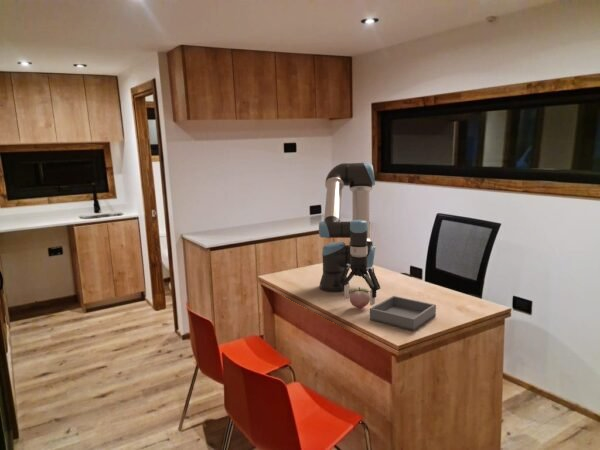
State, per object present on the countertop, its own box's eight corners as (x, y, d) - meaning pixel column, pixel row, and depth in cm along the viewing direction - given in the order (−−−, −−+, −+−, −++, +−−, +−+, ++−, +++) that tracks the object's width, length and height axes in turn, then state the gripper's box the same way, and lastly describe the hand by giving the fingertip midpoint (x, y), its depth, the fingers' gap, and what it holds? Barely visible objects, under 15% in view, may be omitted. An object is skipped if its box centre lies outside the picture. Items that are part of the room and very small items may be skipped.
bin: (369, 320, 190) (369, 308, 189) (393, 306, 205) (393, 295, 204) (413, 331, 177) (413, 319, 176) (435, 316, 192) (435, 304, 191)
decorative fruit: (367, 304, 208) (367, 283, 206) (372, 310, 200) (372, 289, 198) (347, 306, 207) (346, 285, 205) (351, 312, 199) (351, 290, 197)
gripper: (330, 253, 205) (331, 298, 208) (379, 260, 188) (379, 309, 192) (340, 250, 210) (341, 294, 214) (388, 257, 194) (388, 304, 197)
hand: (359, 301), depth 203 cm, fingers open, 13 cm apart
